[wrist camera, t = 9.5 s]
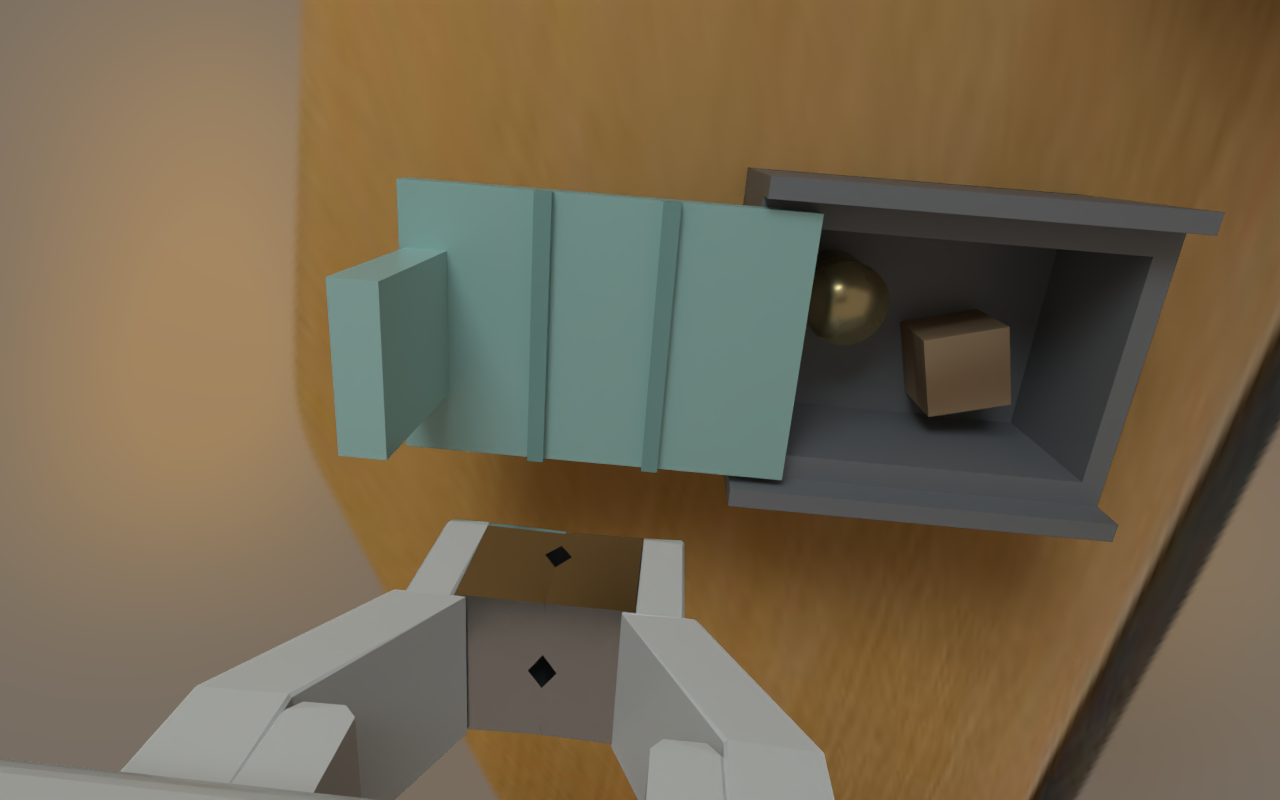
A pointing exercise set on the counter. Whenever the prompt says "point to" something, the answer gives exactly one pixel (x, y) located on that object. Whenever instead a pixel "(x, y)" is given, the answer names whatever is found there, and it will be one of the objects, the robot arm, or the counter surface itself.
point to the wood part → (956, 362)
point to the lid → (576, 329)
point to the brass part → (846, 299)
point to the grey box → (1039, 352)
